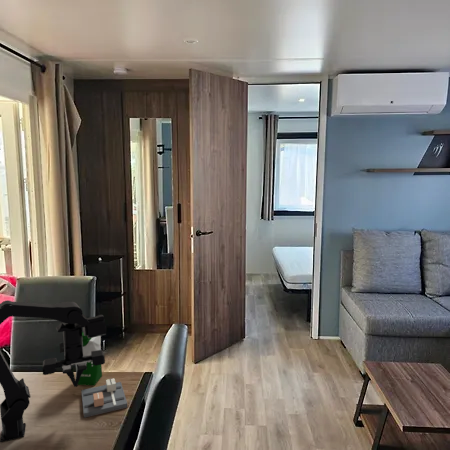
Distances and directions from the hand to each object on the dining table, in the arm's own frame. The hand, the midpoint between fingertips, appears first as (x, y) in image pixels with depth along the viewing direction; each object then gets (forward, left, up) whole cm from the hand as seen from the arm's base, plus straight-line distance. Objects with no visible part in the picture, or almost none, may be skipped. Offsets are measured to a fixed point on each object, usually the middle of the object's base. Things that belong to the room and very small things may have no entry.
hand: (75, 386), depth 128 cm
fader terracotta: (0, -7, -8) cm, 10 cm away
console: (+4, -9, -10) cm, 14 cm away
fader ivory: (+7, -12, -8) cm, 16 cm away
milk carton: (+20, -5, -10) cm, 23 cm away
